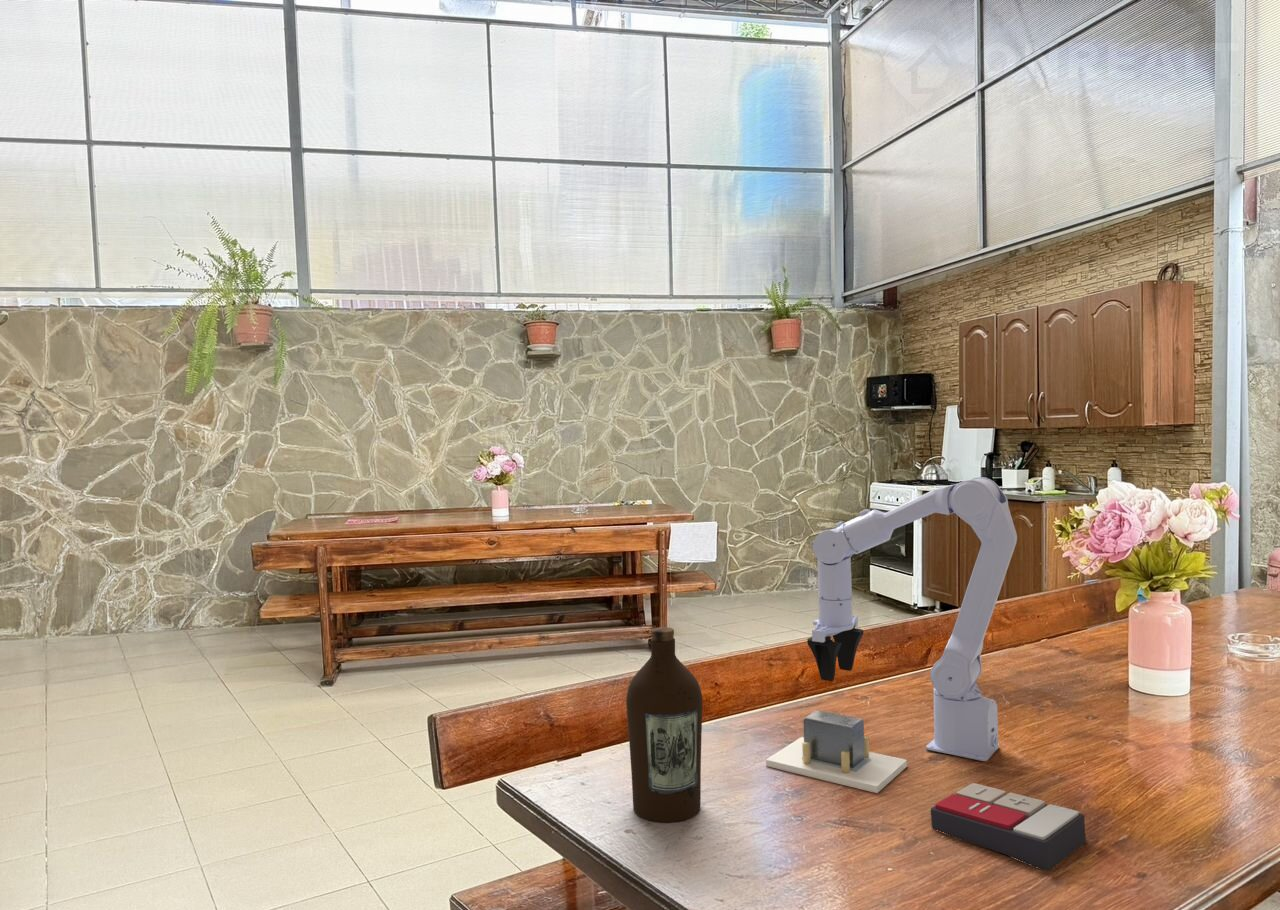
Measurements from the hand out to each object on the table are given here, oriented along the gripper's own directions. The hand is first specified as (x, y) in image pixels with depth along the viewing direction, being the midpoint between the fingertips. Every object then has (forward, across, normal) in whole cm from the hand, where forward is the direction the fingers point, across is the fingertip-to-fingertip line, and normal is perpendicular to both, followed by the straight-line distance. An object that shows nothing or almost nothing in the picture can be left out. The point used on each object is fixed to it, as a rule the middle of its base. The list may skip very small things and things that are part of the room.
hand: (836, 674), depth 147 cm
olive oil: (+10, +43, -6) cm, 44 cm away
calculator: (+10, +25, +34) cm, 43 cm away
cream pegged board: (+9, +16, +7) cm, 20 cm away
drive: (+8, +16, +7) cm, 19 cm away
